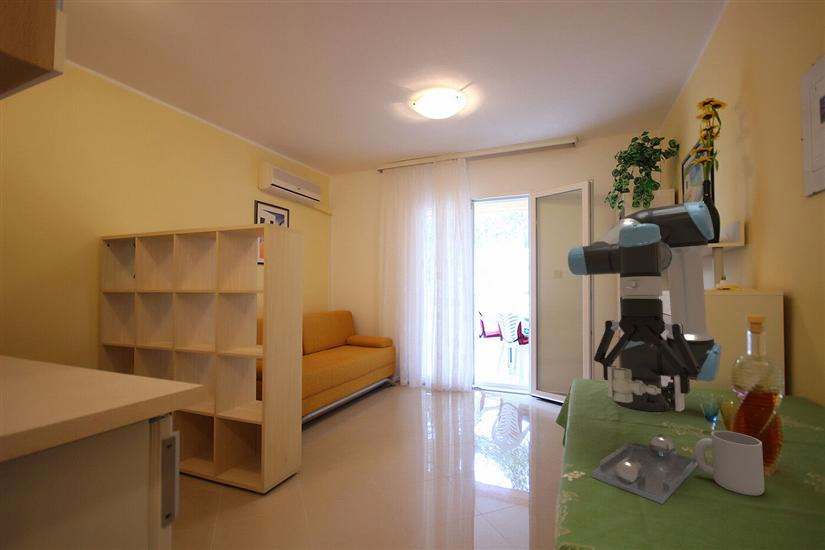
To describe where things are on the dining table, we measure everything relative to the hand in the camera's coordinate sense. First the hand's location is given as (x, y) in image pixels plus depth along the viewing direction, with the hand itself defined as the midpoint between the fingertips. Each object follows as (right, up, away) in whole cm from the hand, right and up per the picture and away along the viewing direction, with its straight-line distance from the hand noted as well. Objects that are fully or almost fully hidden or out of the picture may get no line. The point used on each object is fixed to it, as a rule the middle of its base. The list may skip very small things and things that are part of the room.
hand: (644, 402), depth 75 cm
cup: (+12, -14, -6) cm, 19 cm away
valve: (0, -1, 0) cm, 1 cm away
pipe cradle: (0, -14, -1) cm, 14 cm away
